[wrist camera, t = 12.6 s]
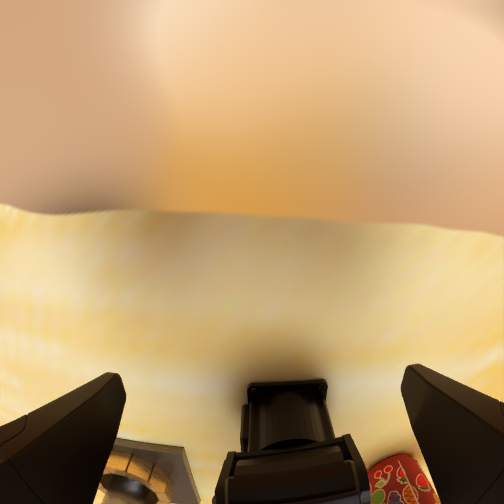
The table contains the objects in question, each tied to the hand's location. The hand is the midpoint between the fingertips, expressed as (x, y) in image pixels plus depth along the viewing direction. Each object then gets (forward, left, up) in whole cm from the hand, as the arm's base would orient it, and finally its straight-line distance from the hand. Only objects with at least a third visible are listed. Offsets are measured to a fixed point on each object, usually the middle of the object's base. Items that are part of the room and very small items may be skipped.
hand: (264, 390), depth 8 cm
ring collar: (+15, +25, -13) cm, 32 cm away
